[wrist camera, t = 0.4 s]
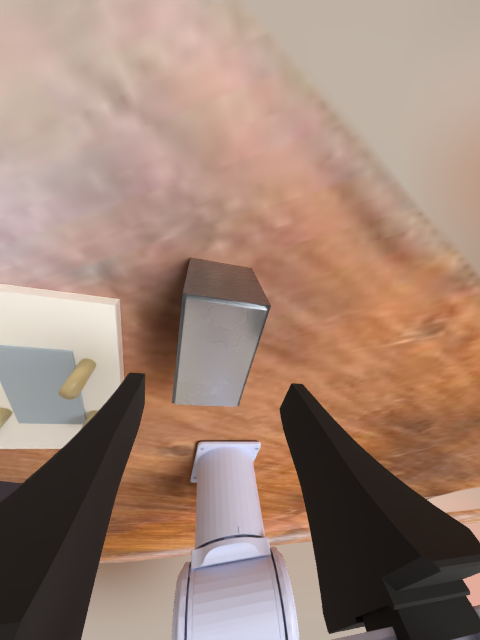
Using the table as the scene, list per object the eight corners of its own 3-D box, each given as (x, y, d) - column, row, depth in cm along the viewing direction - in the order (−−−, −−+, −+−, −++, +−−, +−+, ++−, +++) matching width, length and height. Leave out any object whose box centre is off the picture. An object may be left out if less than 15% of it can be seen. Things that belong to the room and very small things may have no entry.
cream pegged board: (127, 439, 25) (115, 478, 22) (1, 439, 23) (-35, 483, 19) (119, 299, 17) (97, 328, 13) (-89, 272, 14) (-183, 300, 11)
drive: (230, 350, 21) (238, 408, 15) (181, 346, 20) (171, 406, 14) (251, 268, 17) (271, 307, 11) (190, 257, 16) (182, 295, 10)
